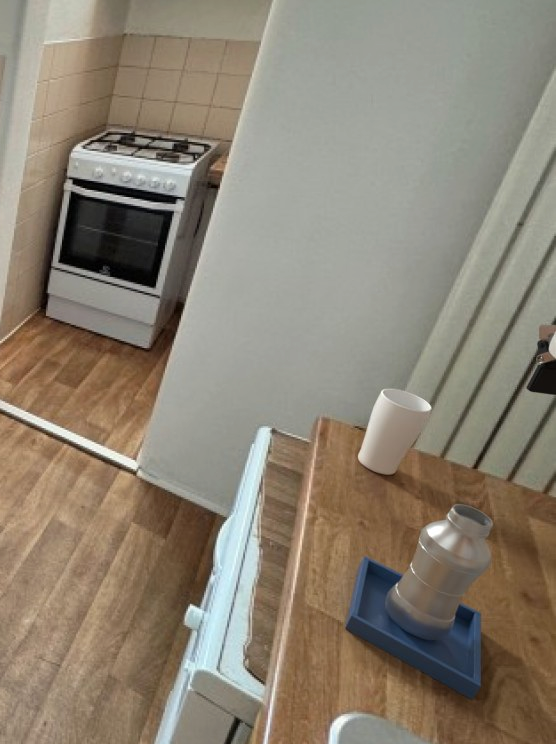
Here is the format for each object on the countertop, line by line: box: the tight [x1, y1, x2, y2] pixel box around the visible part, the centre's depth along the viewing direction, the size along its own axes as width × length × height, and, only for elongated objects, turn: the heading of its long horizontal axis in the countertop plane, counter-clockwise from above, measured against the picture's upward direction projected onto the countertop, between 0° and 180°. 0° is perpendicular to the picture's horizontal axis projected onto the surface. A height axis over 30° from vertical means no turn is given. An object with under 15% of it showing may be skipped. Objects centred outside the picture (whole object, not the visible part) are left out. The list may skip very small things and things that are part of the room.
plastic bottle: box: [385, 503, 494, 640], centre depth 79 cm, size 6×7×20 cm
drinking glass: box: [357, 388, 433, 476], centre depth 108 cm, size 7×7×15 cm
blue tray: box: [344, 555, 482, 700], centre depth 82 cm, size 14×12×3 cm
